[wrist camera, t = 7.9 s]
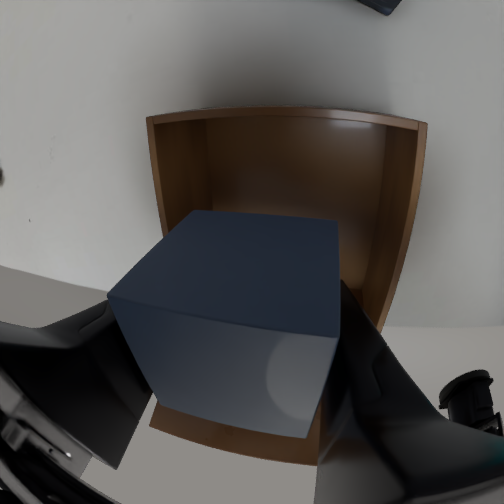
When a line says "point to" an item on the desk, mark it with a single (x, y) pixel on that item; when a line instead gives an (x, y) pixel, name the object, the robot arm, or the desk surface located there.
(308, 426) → the block
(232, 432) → the flap
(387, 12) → the box
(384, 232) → the carton
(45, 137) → the desk surface
